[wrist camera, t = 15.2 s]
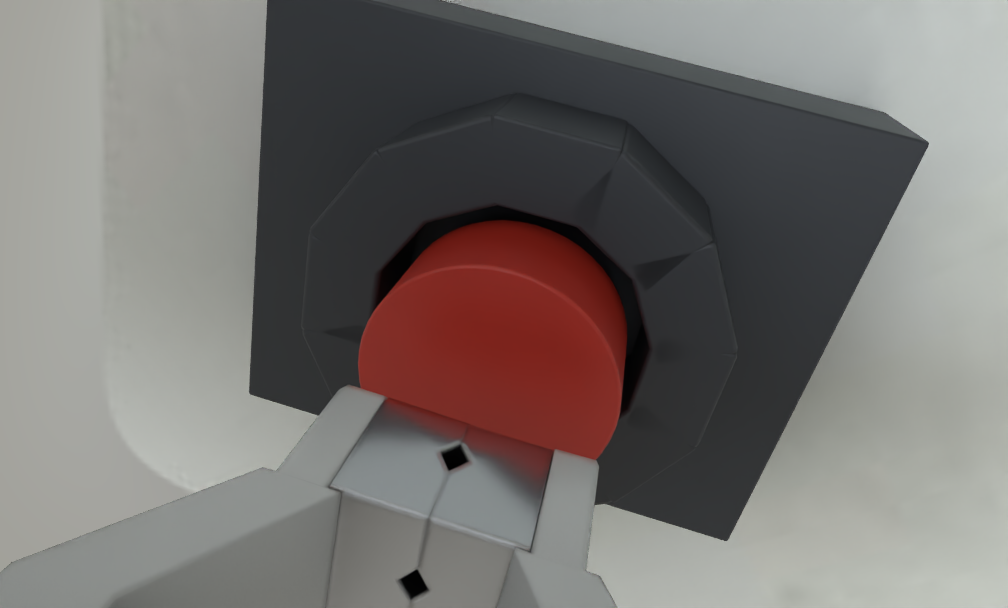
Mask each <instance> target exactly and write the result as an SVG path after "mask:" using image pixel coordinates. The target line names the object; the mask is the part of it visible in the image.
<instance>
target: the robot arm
mask: <svg viewBox="0 0 1008 608" xmlns="http://www.w3.org/2000/svg"><path fill="white" fill-rule="evenodd" d="M598 471H599V465H598V463H597V460H593V459H590V458H586V457H582V456H579V455H575V454H572V453H568V452H564V451H561V450H557V449H554V451H553V450H552V449H549V448H545V447H542V446H539V445H536V444H532V443H529V442H526V441H522V440H519V439H516V438H512V437H509V436H506V435H503V434H499V433H496V432H493V431H489V430H486V429H483V428H479V427H476V426H473V425H470V424H468V423H465V422H462V421H459V420H456V419H453V418H450V417H447V416H444V415H441V414H438V413H435V412H432V411H429V410H426V409H423V408H420V407H417V406H414V405H411V404H408V403H405V402H402V401H399V400H396V399H393V398H387V397H386V396H383V395H380V394H377V393H374V392H370V391H367V390H364V389H361V388H358V387H355V386H352V385H347V386H345V387H343V388H341V389H339V390H338V391H337V393H336V394H335V395H334V397H333V398H332V399H331V400H330V402H329V403H328V404H327V406H326V407H325V408H324V410H323V411H322V412H321V413H320V415H319V416H318V417H317V419H316V420H315V421H314V422H313V424H312V425H311V426H310V428H309V429H308V430H307V432H306V433H305V434H304V435H303V437H302V438H301V439H300V441H299V442H298V443H297V444H296V446H295V447H294V448H293V450H292V451H291V452H290V453H289V455H288V456H287V457H286V459H285V460H284V461H283V463H282V464H281V465H280V466H279V468H278V469H277V470H276V471H273V470H270V469H267V468H264V467H262V468H259V469H257V470H254V471H251V472H249V473H246V474H244V475H241V476H238V477H236V478H233V479H230V480H228V481H225V482H222V483H220V484H217V485H214V486H212V487H209V488H207V489H204V490H201V491H199V492H196V493H193V494H191V495H188V496H185V497H183V498H180V499H178V500H175V501H172V502H170V503H167V504H164V505H162V506H159V507H156V508H154V509H151V510H148V511H146V512H143V513H141V514H138V515H135V516H133V517H130V518H127V519H125V520H122V521H119V522H117V523H114V524H112V525H109V526H106V527H104V528H101V529H98V530H96V531H93V532H91V533H88V534H85V535H83V536H80V537H77V538H75V539H72V540H69V541H67V542H64V543H61V544H59V545H56V546H54V547H51V548H48V549H46V550H43V551H40V552H38V553H35V554H32V555H30V556H27V557H24V558H22V559H19V560H17V561H14V562H11V564H9V565H8V566H7V567H6V568H5V569H4V570H3V571H2V572H0V608H618V607H617V606H616V604H615V602H614V600H613V598H612V597H611V595H610V593H609V591H608V590H607V588H606V586H605V584H604V582H603V581H602V579H601V577H600V576H599V575H596V574H593V573H590V572H587V571H586V566H587V558H588V550H589V542H590V535H591V527H592V519H593V511H594V503H595V495H596V487H597V479H598Z"/></svg>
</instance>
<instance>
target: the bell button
mask: <svg viewBox="0 0 1008 608" xmlns="http://www.w3.org/2000/svg"><path fill="white" fill-rule="evenodd" d="M626 347H627V322H626V317H625V312H624V308H623V305H622V302H621V299H620V296H619V294H618V292H617V290H616V288H615V286H614V284H613V282H612V281H611V279H610V278H609V276H608V275H607V274H606V272H605V271H604V269H603V268H602V267H601V266H600V265H599V264H598V263H597V261H596V260H595V259H594V258H593V257H592V256H591V255H589V254H588V253H587V252H586V251H585V250H584V249H582V248H581V247H580V246H578V245H577V244H575V243H574V242H572V241H571V240H569V239H568V238H566V237H564V236H562V235H560V234H558V233H556V232H554V231H552V230H549V229H546V228H543V227H540V226H538V225H534V224H529V223H524V222H519V221H507V220H496V221H484V222H478V223H473V224H469V225H466V226H463V227H460V228H457V229H455V230H453V231H451V232H449V233H447V234H445V235H443V236H442V237H440V238H439V239H437V240H436V241H434V242H433V243H432V244H431V245H430V246H428V247H427V248H426V249H425V250H424V251H423V252H422V253H421V254H420V255H419V257H418V258H417V259H416V260H415V261H414V263H413V264H412V265H411V266H410V268H409V269H408V270H407V271H406V272H405V274H404V275H403V276H402V277H401V278H400V280H399V281H398V282H397V283H396V284H395V286H394V287H393V288H392V289H391V290H390V292H389V293H388V294H387V295H386V297H385V298H384V299H383V300H382V301H381V303H380V304H379V305H378V306H377V308H376V309H375V310H374V312H373V314H372V315H371V317H370V319H369V320H368V322H367V325H366V327H365V330H364V332H363V335H362V339H361V343H360V348H359V359H358V370H359V381H360V386H361V389H364V390H367V391H370V392H374V393H377V394H380V395H383V396H386V397H387V398H393V399H396V400H399V401H402V402H405V403H408V404H411V405H414V406H417V407H420V408H423V409H426V410H429V411H432V412H435V413H438V414H441V415H444V416H447V417H450V418H453V419H456V420H459V421H462V422H465V423H468V424H470V425H473V426H476V427H479V428H483V429H486V430H489V431H493V432H496V433H499V434H503V435H506V436H509V437H512V438H516V439H519V440H522V441H526V442H529V443H532V444H536V445H539V446H542V447H545V448H549V449H552V450H553V451H554V449H557V450H561V451H564V452H568V453H572V454H575V455H579V456H582V457H586V458H590V459H593V460H596V459H597V458H598V457H599V456H600V454H601V453H602V452H603V451H604V449H605V448H606V446H607V445H608V443H609V442H610V440H611V438H612V435H613V433H614V431H615V429H616V426H617V422H618V419H619V415H620V409H621V400H622V390H623V379H624V368H625V358H626Z"/></svg>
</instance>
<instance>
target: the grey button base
mask: <svg viewBox="0 0 1008 608" xmlns="http://www.w3.org/2000/svg"><path fill="white" fill-rule="evenodd" d="M928 145H929V143H928V142H927V141H926V140H924V139H923V138H922V137H920V136H919V135H917V134H916V133H914V132H913V131H911V130H910V129H908V128H907V127H905V126H904V125H902V124H901V123H899V122H898V121H896V120H895V119H893V118H892V117H890V116H889V115H888V114H886V113H884V112H880V111H876V110H872V109H868V108H864V107H860V106H856V105H853V104H849V103H845V102H841V101H837V100H833V99H829V98H825V97H821V96H817V95H813V94H809V93H805V92H801V91H797V90H793V89H789V88H785V87H781V86H777V85H773V84H769V83H765V82H761V81H757V80H753V79H750V78H746V77H742V76H738V75H734V74H730V73H726V72H722V71H718V70H714V69H710V68H706V67H702V66H698V65H694V64H690V63H686V62H682V61H678V60H674V59H670V58H666V57H662V56H658V55H654V54H651V53H647V52H643V51H639V50H635V49H631V48H627V47H623V46H619V45H615V44H611V43H607V42H603V41H599V40H595V39H591V38H587V37H583V36H579V35H575V34H571V33H567V32H563V31H559V30H555V29H551V28H548V27H544V26H540V25H536V24H532V23H528V22H524V21H520V20H516V19H512V18H508V17H504V16H500V15H496V14H492V13H488V12H484V11H480V10H476V9H472V8H468V7H464V6H460V5H456V4H452V3H449V2H445V1H441V0H267V20H266V41H265V63H264V84H263V106H262V127H261V149H260V170H259V192H258V213H257V235H256V256H255V278H254V300H253V321H252V343H251V364H250V386H249V393H250V394H251V395H254V396H257V397H260V398H264V399H267V400H270V401H273V402H277V403H280V404H283V405H286V406H290V407H293V408H296V409H299V410H302V411H306V412H309V413H312V414H315V415H320V413H321V412H322V411H323V410H324V408H325V407H326V406H327V404H328V403H329V402H330V400H331V399H332V398H333V397H334V395H335V394H336V393H337V391H338V390H339V389H341V388H343V387H345V386H347V385H352V386H355V387H358V388H361V386H360V381H359V370H358V359H359V348H360V343H361V339H362V335H363V332H364V330H365V327H366V325H367V322H368V320H369V319H370V317H371V315H372V314H373V312H374V310H375V309H376V308H377V306H378V305H379V304H380V303H381V301H382V300H383V299H384V298H385V297H386V295H387V294H388V293H389V292H390V290H391V289H392V288H393V287H394V286H395V284H396V283H397V282H398V281H399V280H400V278H401V277H402V276H403V275H404V274H405V272H406V271H407V270H408V269H409V268H410V266H411V265H412V264H413V263H414V261H415V260H416V259H417V258H418V257H419V255H420V254H421V253H422V252H423V251H424V250H425V249H426V248H427V247H428V246H430V245H431V244H432V243H433V242H434V241H436V240H437V239H439V238H440V237H442V236H443V235H445V234H447V233H449V232H451V231H453V230H455V229H457V228H460V227H463V226H466V225H469V224H473V223H478V222H484V221H496V220H507V221H519V222H524V223H529V224H534V225H538V226H540V227H543V228H546V229H549V230H552V231H554V232H556V233H558V234H560V235H562V236H564V237H566V238H568V239H569V240H571V241H572V242H574V243H575V244H577V245H578V246H580V247H581V248H582V249H584V250H585V251H586V252H587V253H588V254H589V255H591V256H592V257H593V258H594V259H595V260H596V261H597V263H598V264H599V265H600V266H601V267H602V268H603V269H604V271H605V272H606V274H607V275H608V276H609V278H610V279H611V281H612V282H613V284H614V286H615V288H616V290H617V292H618V294H619V296H620V299H621V302H622V305H623V308H624V312H625V317H626V322H627V347H626V358H625V368H624V379H623V390H622V400H621V409H620V415H619V419H618V422H617V426H616V429H615V431H614V433H613V435H612V438H611V440H610V442H609V443H608V445H607V446H606V448H605V449H604V451H603V452H602V453H601V454H600V456H599V457H598V458H597V459H596V460H597V463H598V465H599V471H598V479H597V487H596V495H595V503H594V505H597V504H607V505H611V506H614V507H617V508H620V509H624V510H627V511H630V512H633V513H636V514H640V515H643V516H646V517H649V518H653V519H656V520H659V521H662V522H666V523H669V524H672V525H675V526H679V527H682V528H685V529H688V530H692V531H695V532H698V533H701V534H705V535H708V536H711V537H714V538H718V539H721V540H724V541H727V540H728V539H729V537H730V535H731V533H732V531H733V529H734V527H735V525H736V523H737V521H738V519H739V517H740V515H741V513H742V511H743V509H744V507H745V505H746V503H747V502H748V500H749V498H750V496H751V494H752V492H753V490H754V488H755V486H756V484H757V482H758V480H759V478H760V476H761V474H762V472H763V470H764V468H765V466H766V464H767V462H768V460H769V458H770V456H771V454H772V452H773V450H774V448H775V446H776V444H777V442H778V441H779V439H780V437H781V435H782V433H783V431H784V429H785V427H786V425H787V423H788V421H789V419H790V417H791V415H792V413H793V411H794V409H795V407H796V405H797V403H798V401H799V399H800V397H801V395H802V393H803V391H804V389H805V387H806V385H807V383H808V381H809V380H810V378H811V376H812V374H813V372H814V370H815V368H816V366H817V364H818V362H819V360H820V358H821V356H822V354H823V352H824V350H825V348H826V346H827V344H828V342H829V340H830V338H831V336H832V334H833V332H834V330H835V328H836V326H837V324H838V322H839V320H840V318H841V317H842V315H843V313H844V311H845V309H846V307H847V305H848V303H849V301H850V299H851V297H852V295H853V293H854V291H855V289H856V287H857V285H858V283H859V281H860V279H861V277H862V275H863V273H864V271H865V269H866V267H867V265H868V263H869V261H870V259H871V257H872V256H873V254H874V252H875V250H876V248H877V246H878V244H879V242H880V240H881V238H882V236H883V234H884V232H885V230H886V228H887V226H888V224H889V222H890V220H891V218H892V216H893V214H894V212H895V210H896V208H897V206H898V204H899V202H900V200H901V198H902V196H903V195H904V193H905V191H906V189H907V187H908V185H909V183H910V181H911V179H912V177H913V175H914V173H915V171H916V169H917V167H918V165H919V163H920V161H921V159H922V157H923V155H924V153H925V151H926V149H927V147H928Z"/></svg>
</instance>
